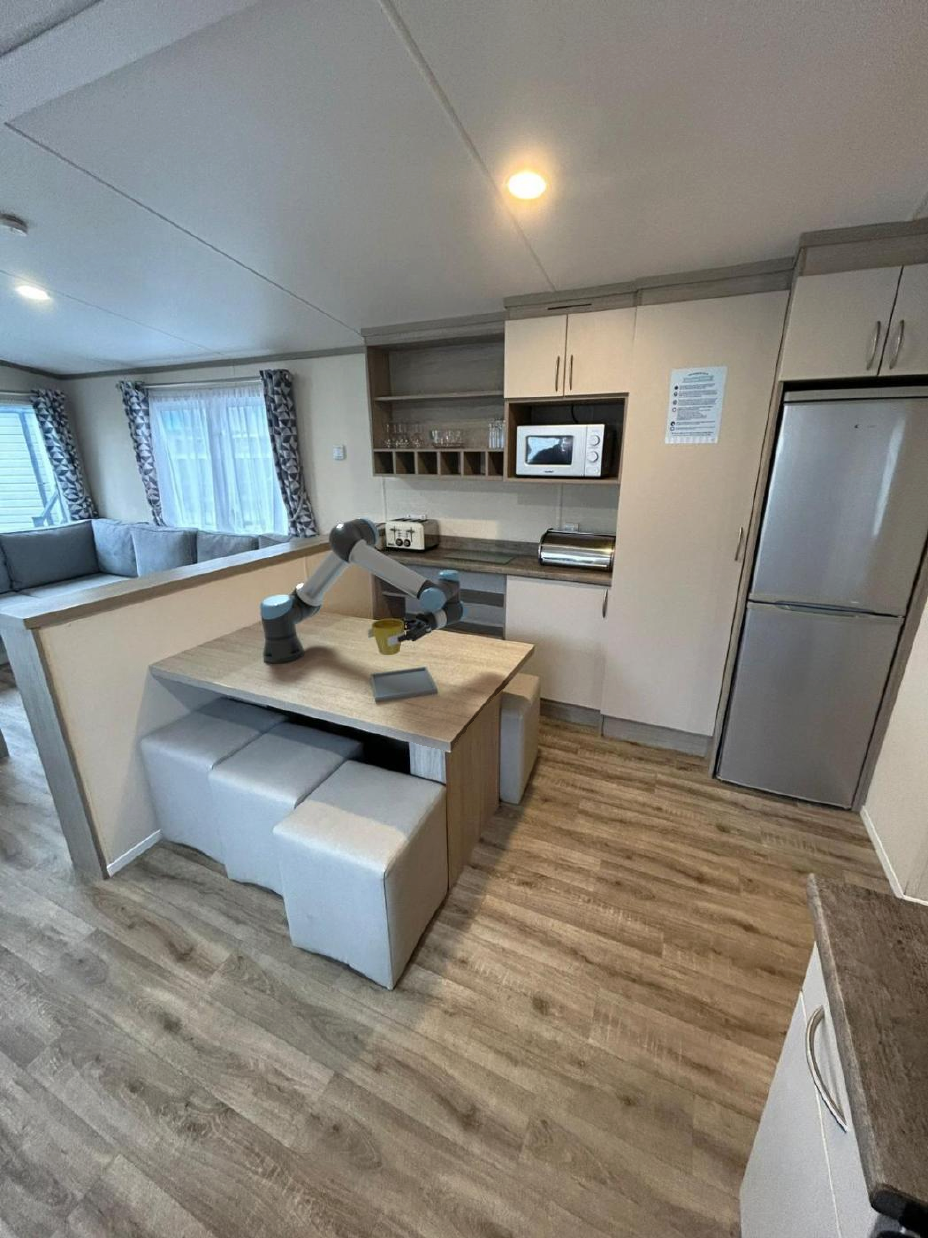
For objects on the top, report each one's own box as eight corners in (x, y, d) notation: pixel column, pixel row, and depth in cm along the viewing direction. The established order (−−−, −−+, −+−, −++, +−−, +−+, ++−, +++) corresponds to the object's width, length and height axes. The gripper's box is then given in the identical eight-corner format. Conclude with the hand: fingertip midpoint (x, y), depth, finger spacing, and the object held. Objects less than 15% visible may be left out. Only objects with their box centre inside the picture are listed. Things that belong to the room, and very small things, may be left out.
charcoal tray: (375, 702, 153) (375, 697, 153) (370, 678, 170) (370, 673, 169) (437, 693, 158) (436, 688, 158) (426, 671, 175) (426, 666, 174)
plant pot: (411, 647, 162) (409, 619, 159) (396, 659, 153) (394, 630, 149) (383, 644, 165) (381, 616, 162) (368, 655, 156) (365, 627, 153)
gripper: (453, 638, 162) (400, 658, 148) (410, 623, 178) (359, 640, 163) (452, 616, 160) (399, 635, 145) (409, 603, 175) (357, 619, 161)
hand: (378, 637), depth 154 cm, fingers closed on plant pot, 10 cm apart
